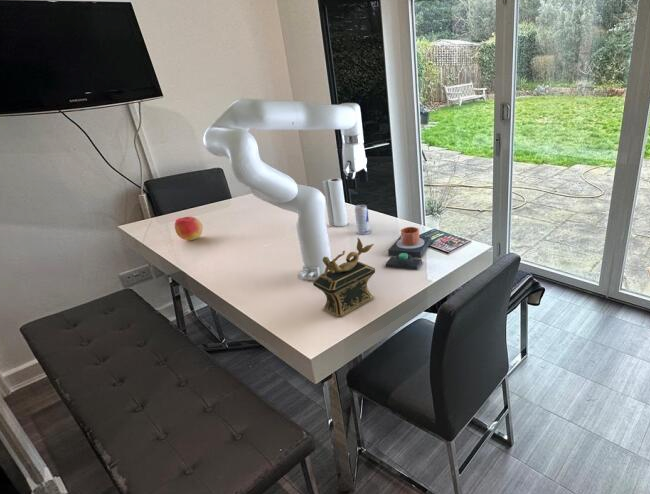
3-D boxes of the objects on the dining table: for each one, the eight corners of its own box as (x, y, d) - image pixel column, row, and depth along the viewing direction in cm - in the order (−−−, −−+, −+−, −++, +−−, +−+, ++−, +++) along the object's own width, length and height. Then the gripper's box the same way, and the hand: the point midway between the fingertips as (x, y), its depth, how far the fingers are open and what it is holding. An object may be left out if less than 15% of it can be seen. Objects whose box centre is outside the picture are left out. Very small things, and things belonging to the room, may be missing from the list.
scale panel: (417, 270, 146) (416, 262, 145) (385, 267, 149) (384, 259, 147) (422, 262, 152) (421, 255, 151) (391, 259, 154) (390, 252, 153)
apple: (190, 244, 169) (183, 222, 165) (173, 242, 172) (166, 220, 168) (210, 236, 177) (204, 214, 173) (194, 233, 180) (187, 212, 176)
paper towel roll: (350, 222, 191) (344, 178, 182) (343, 227, 185) (337, 181, 177) (336, 221, 192) (330, 177, 184) (329, 226, 187) (322, 180, 178)
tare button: (406, 260, 148) (405, 256, 147) (397, 260, 148) (397, 256, 147) (409, 256, 150) (408, 253, 150) (400, 256, 151) (400, 252, 150)
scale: (420, 258, 155) (420, 251, 154) (388, 255, 158) (388, 249, 157) (431, 242, 169) (431, 236, 168) (401, 240, 171) (401, 234, 170)
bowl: (416, 246, 158) (415, 234, 156) (399, 245, 160) (398, 233, 158) (421, 239, 165) (421, 227, 163) (405, 238, 166) (404, 226, 164)
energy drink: (371, 230, 182) (368, 204, 177) (367, 234, 177) (364, 208, 172) (359, 229, 182) (356, 204, 178) (355, 234, 178) (352, 208, 173)
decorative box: (336, 321, 118) (326, 260, 110) (316, 310, 123) (305, 251, 115) (387, 292, 132) (382, 237, 124) (368, 284, 138) (361, 230, 130)
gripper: (353, 135, 155) (358, 179, 162) (331, 143, 139) (338, 191, 146) (372, 135, 154) (376, 179, 160) (351, 144, 138) (357, 192, 145)
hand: (358, 185), depth 153 cm, fingers open, 9 cm apart
